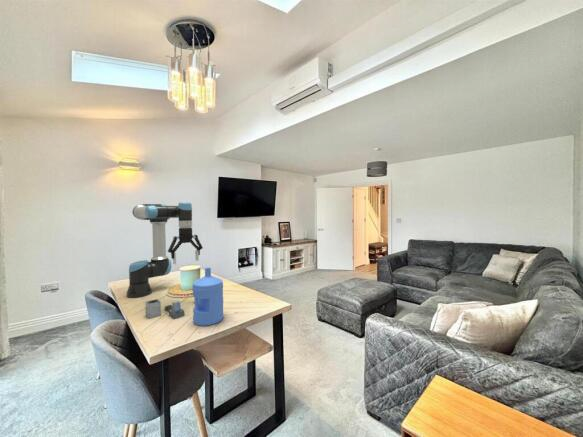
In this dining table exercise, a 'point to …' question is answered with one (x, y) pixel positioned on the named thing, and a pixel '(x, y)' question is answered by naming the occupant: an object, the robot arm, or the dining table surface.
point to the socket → (153, 308)
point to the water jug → (208, 300)
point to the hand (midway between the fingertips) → (186, 262)
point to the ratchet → (175, 310)
